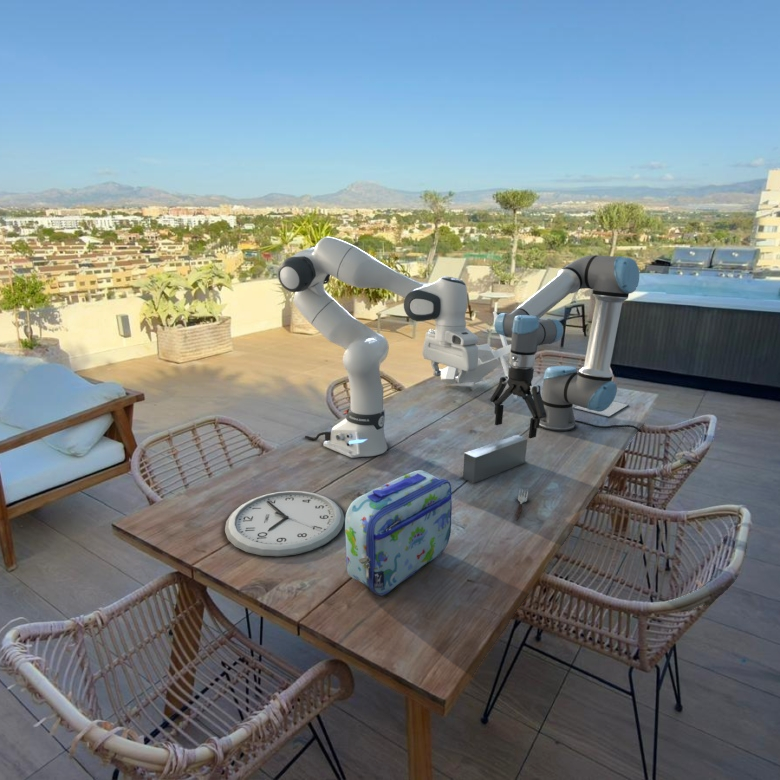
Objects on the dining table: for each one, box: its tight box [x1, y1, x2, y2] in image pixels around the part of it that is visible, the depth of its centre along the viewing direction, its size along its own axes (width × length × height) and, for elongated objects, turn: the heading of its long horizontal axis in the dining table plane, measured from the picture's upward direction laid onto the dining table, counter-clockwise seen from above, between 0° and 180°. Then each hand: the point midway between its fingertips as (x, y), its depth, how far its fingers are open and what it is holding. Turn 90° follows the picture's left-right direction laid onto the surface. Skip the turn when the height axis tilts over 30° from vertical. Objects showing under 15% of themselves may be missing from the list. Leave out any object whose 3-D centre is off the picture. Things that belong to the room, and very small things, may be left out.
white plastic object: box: [439, 310, 527, 400], centre depth 245 cm, size 37×45×31 cm
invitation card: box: [573, 400, 629, 418], centre depth 226 cm, size 21×1×15 cm
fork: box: [516, 487, 529, 521], centre depth 143 cm, size 3×16×2 cm, turn 160°
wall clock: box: [224, 490, 345, 557], centre depth 134 cm, size 30×2×30 cm
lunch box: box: [344, 469, 453, 596], centre depth 114 cm, size 26×11×21 cm, turn 135°
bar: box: [462, 434, 528, 484], centre depth 164 cm, size 24×4×8 cm, turn 128°
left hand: (447, 379), depth 157 cm, fingers open, 8 cm apart
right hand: (514, 430), depth 167 cm, fingers open, 13 cm apart
